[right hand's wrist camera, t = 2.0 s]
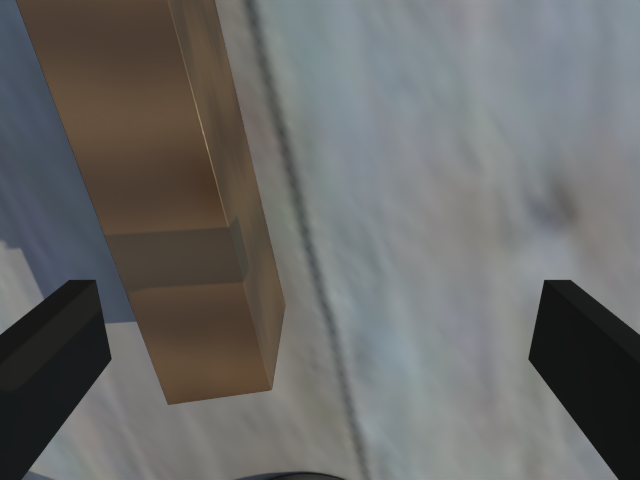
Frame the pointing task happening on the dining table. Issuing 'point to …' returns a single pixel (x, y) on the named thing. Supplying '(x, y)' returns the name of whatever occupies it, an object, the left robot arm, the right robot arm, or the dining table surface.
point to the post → (169, 183)
